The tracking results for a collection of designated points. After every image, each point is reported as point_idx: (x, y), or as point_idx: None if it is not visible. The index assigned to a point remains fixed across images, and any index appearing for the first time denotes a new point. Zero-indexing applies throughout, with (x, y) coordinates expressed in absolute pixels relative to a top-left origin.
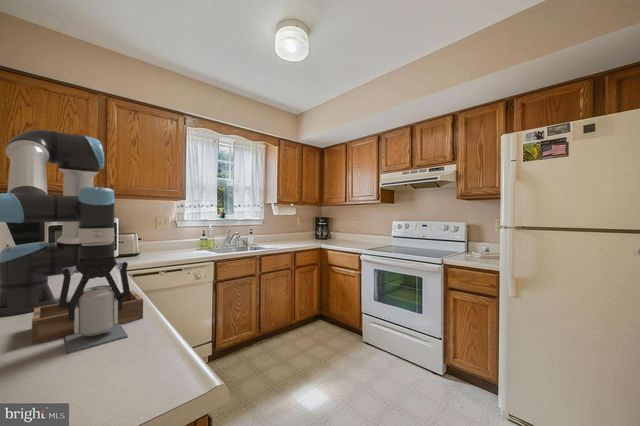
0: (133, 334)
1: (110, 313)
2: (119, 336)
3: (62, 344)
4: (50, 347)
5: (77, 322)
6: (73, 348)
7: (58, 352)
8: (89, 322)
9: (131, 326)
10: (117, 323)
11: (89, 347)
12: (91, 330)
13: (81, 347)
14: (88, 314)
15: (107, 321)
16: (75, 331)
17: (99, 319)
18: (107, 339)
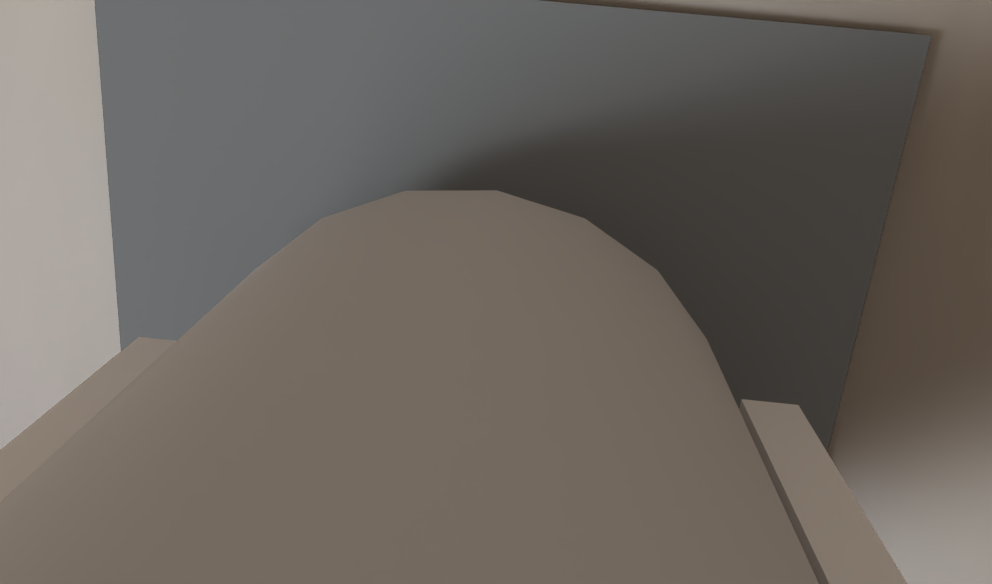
0: (16, 16)
1: (132, 383)
2: (206, 41)
3: (847, 473)
4: (973, 488)
5: (825, 520)
6: (827, 112)
7: (970, 207)
8: (633, 313)
9: (19, 408)
10: (140, 338)
11: (634, 13)
12: (583, 237)
13: (737, 50)
14: (683, 443)
15: (275, 269)
16: (797, 426)
17: (422, 272)
18: (376, 68)
